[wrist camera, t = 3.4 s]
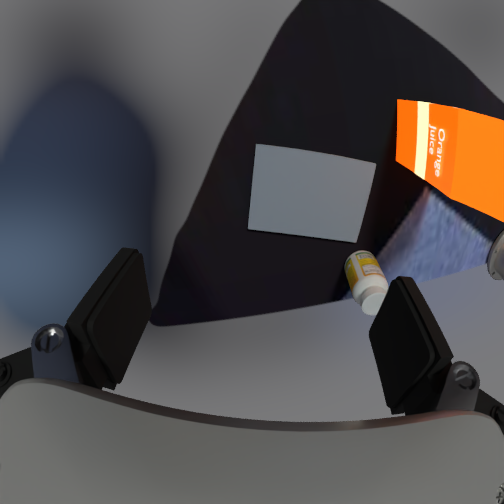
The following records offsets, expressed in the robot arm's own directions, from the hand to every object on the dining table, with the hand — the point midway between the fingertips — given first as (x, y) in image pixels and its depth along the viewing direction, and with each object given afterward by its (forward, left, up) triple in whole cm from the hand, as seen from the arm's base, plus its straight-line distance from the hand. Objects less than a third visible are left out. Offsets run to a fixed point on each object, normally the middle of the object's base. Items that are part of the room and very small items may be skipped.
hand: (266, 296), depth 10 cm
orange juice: (-20, -6, -29) cm, 35 cm away
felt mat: (-6, +6, -28) cm, 30 cm away
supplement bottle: (-16, +16, -29) cm, 36 cm away
